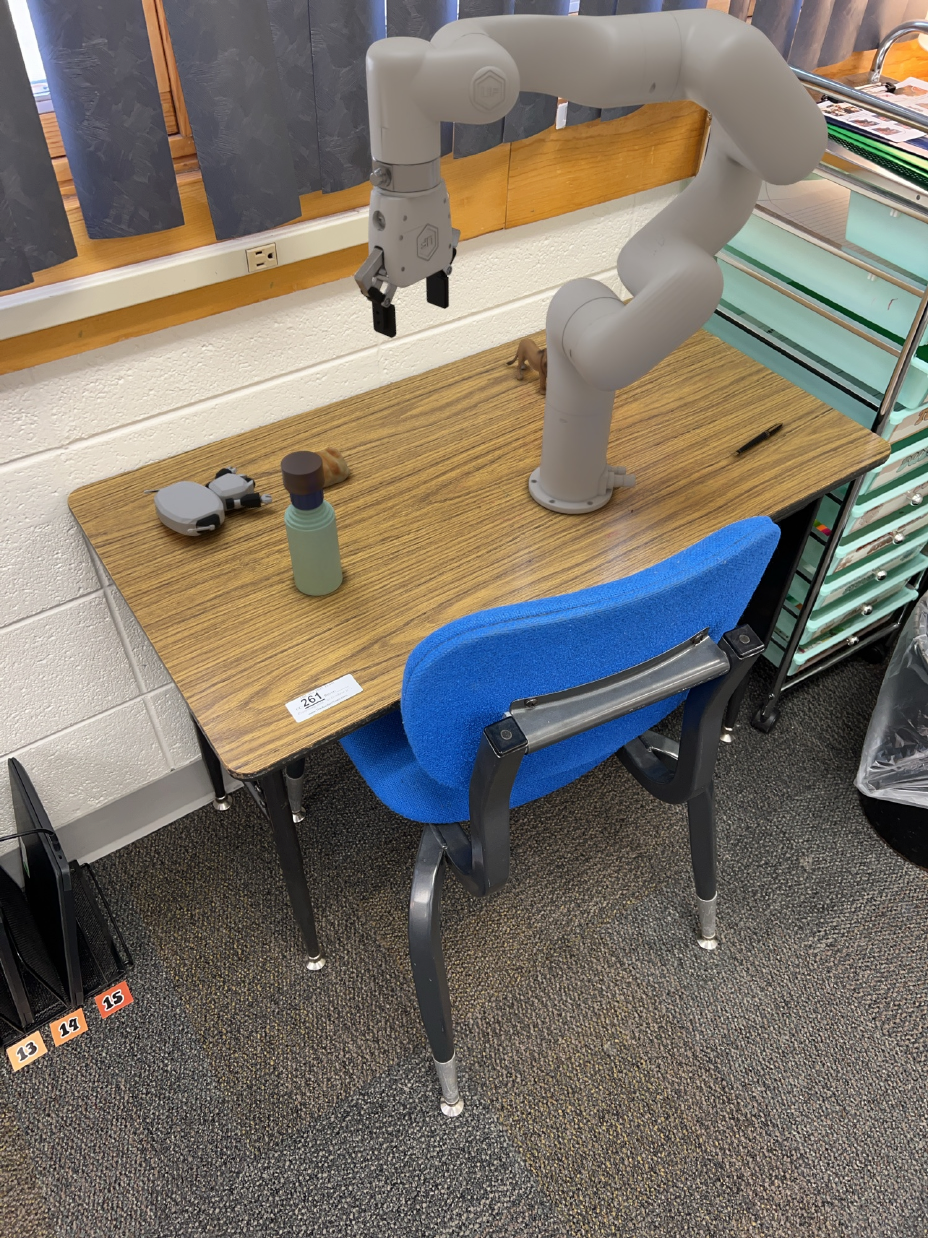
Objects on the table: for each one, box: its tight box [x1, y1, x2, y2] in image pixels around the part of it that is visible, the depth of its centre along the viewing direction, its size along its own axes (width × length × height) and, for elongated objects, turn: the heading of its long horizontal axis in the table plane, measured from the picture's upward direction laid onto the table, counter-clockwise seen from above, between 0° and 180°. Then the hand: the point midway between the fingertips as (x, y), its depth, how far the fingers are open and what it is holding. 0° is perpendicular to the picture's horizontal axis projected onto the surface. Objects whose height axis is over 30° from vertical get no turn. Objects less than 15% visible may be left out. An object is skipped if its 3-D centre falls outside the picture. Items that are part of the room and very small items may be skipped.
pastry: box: [313, 446, 351, 489], centre depth 138 cm, size 9×7×4 cm
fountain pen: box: [731, 422, 784, 457], centre depth 147 cm, size 14×1×2 cm, turn 133°
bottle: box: [283, 499, 344, 597], centre depth 118 cm, size 6×6×16 cm
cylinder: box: [280, 450, 325, 495], centre depth 111 cm, size 5×5×3 cm
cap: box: [288, 487, 325, 510], centre depth 113 cm, size 4×4×3 cm
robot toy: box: [142, 466, 273, 537], centre depth 132 cm, size 12×4×15 cm
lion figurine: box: [505, 338, 547, 395], centre depth 157 cm, size 15×5×9 cm, turn 45°
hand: (412, 318), depth 112 cm, fingers open, 9 cm apart
